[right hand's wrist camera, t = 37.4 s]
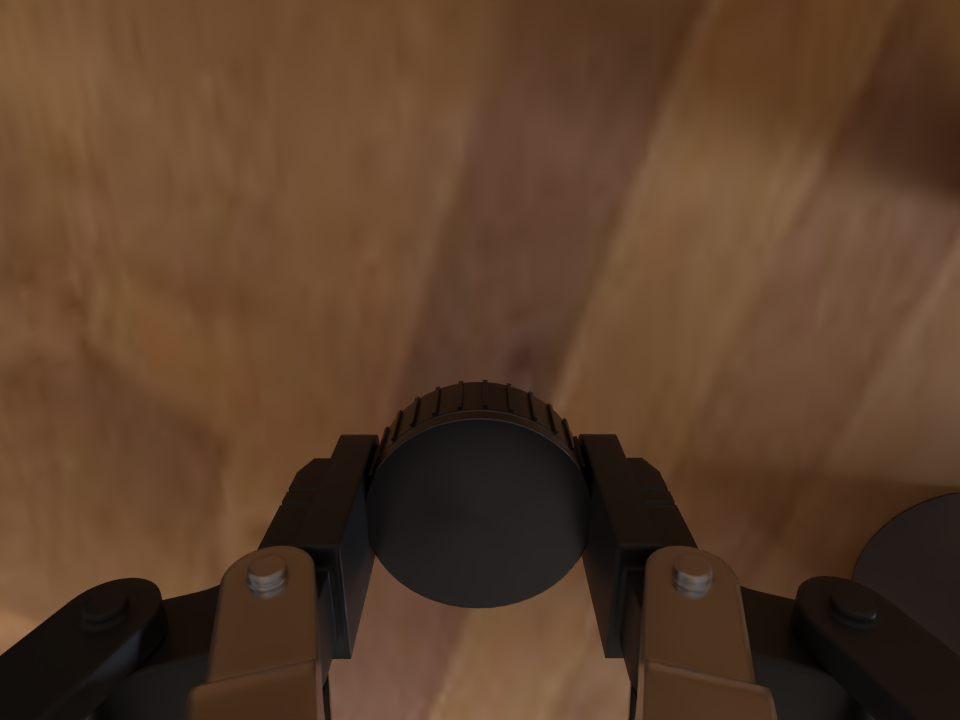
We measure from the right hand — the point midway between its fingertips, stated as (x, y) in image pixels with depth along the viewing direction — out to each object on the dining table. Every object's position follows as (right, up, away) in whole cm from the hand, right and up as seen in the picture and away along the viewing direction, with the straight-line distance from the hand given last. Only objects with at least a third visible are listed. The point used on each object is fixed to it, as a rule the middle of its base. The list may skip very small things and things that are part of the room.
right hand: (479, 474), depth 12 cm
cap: (0, 0, -1) cm, 1 cm away
